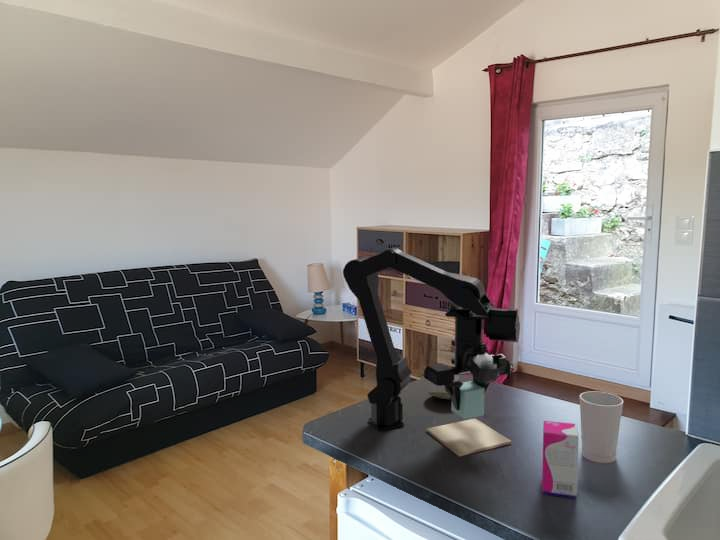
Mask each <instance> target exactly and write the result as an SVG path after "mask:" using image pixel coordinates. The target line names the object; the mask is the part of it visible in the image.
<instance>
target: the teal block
mask: <svg viewBox="0 0 720 540" xmlns="http://www.w3.org/2000/svg"><path fill="white" fill-rule="evenodd" d="M462 383H463V385H462V386H461V388H460V408H459V410H456V409H455V407H454V405H453V403H452V402H451V406H450V407H451V410H450V411H451V412H453V413H454V414H456V415H457V416H459V417H460V418H461V419H463V420H469V419H474V418H477V417H478V418H479V417H482V416H485V395H484V391H485V388H483V387H481V386H479V385H477V384H475V383H473V380H469V381H464V382H462Z"/></svg>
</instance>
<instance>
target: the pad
mask: <svg viewBox="0 0 720 540" xmlns="http://www.w3.org/2000/svg"><path fill="white" fill-rule="evenodd" d="M426 432H427V433H428V434H430V435H431V436H432V437H433V438H435V439H436V440H437V441H439V442H440V443H441V444H443V445H444V446H445V447H446V448H448V449H449V450H450V451H451V452H453V453H454V454H455V455H457V456H458V457H463V456H467V455H471V454H475V453H478V452H479V453H480V452H482V451H487V450H491V449H495V448H499V447H503V446H507V445H512V440H511V439H509V438H507V437H506V436H504V435H502V434H501V433H499V432H498V431H496V430H494V429H492V427H490V426H488V425H487V424H485V423H484V422H482V421H480V420H478V419H477V418H476V417H473V418H469V419H464V420H462V421H456V422H451V423H446V424H442V425H437V426H432V427H428V428H426Z"/></svg>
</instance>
